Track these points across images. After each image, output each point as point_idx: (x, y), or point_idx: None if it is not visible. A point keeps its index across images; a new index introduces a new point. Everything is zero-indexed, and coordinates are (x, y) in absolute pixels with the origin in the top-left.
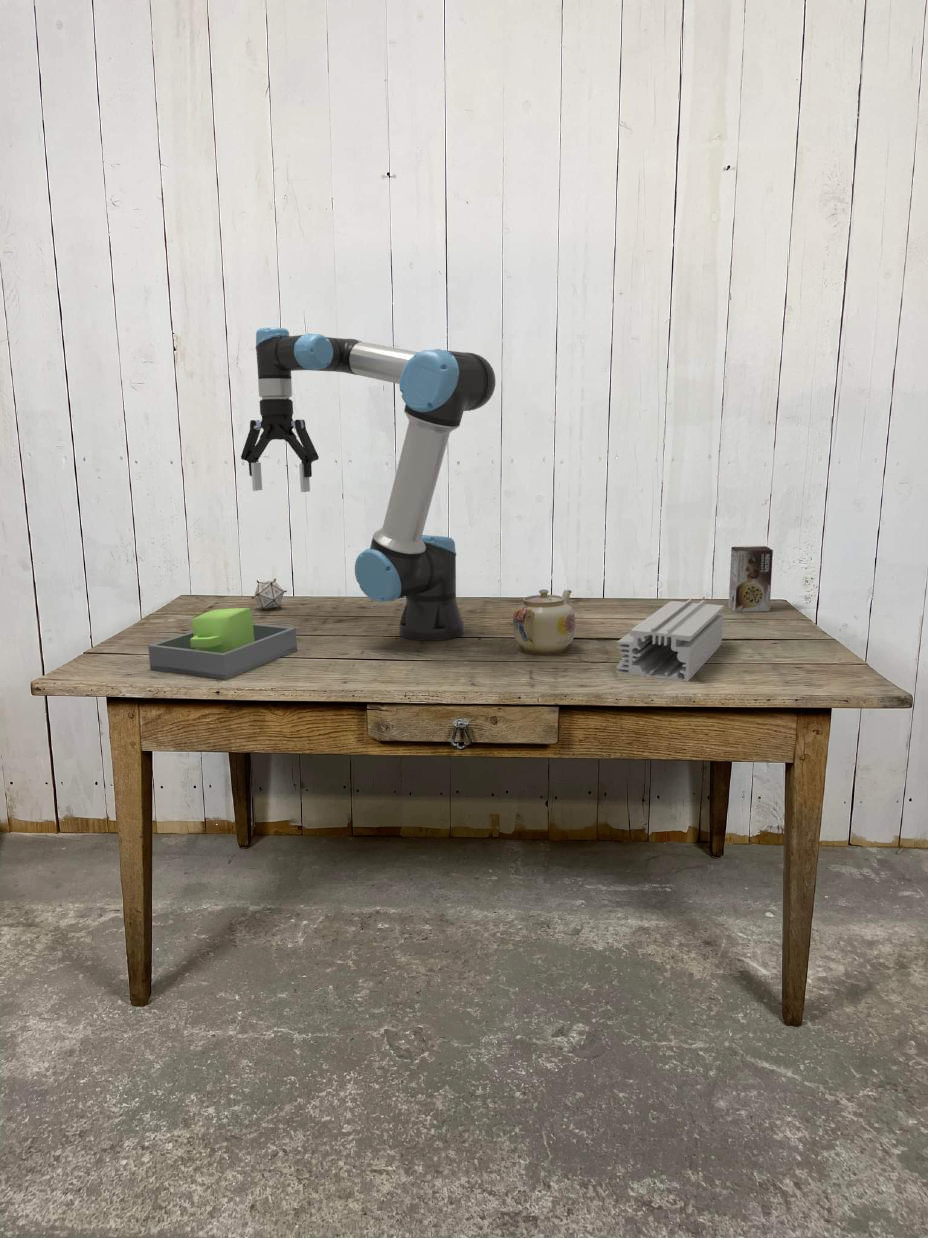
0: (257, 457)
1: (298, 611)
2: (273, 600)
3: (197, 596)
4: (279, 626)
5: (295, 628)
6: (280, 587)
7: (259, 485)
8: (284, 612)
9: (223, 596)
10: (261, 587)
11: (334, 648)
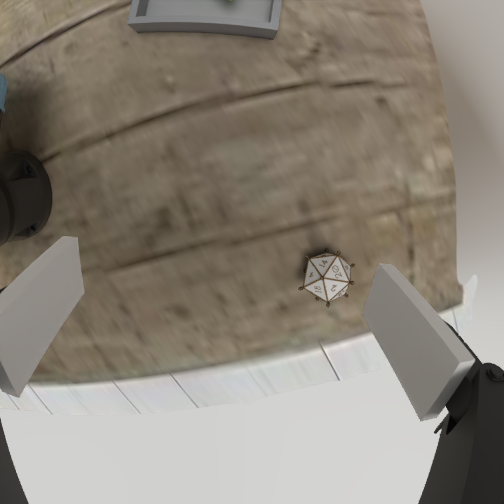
0: (451, 433)
1: (267, 264)
2: (308, 256)
3: (444, 304)
4: (158, 21)
5: (127, 22)
6: (312, 292)
7: (376, 309)
8: (287, 251)
9: None
10: (338, 270)
11: (91, 64)
